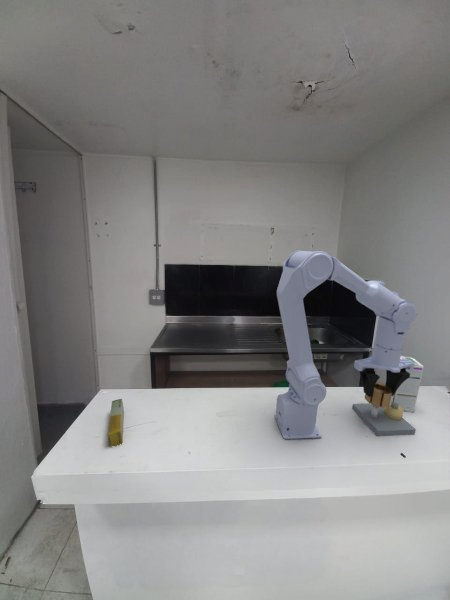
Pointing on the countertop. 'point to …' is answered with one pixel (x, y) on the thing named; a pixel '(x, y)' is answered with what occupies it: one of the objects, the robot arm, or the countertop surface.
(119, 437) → the medication box
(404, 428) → the carrier plate
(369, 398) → the brown segmented ring
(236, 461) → the countertop surface
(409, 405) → the syrup box
